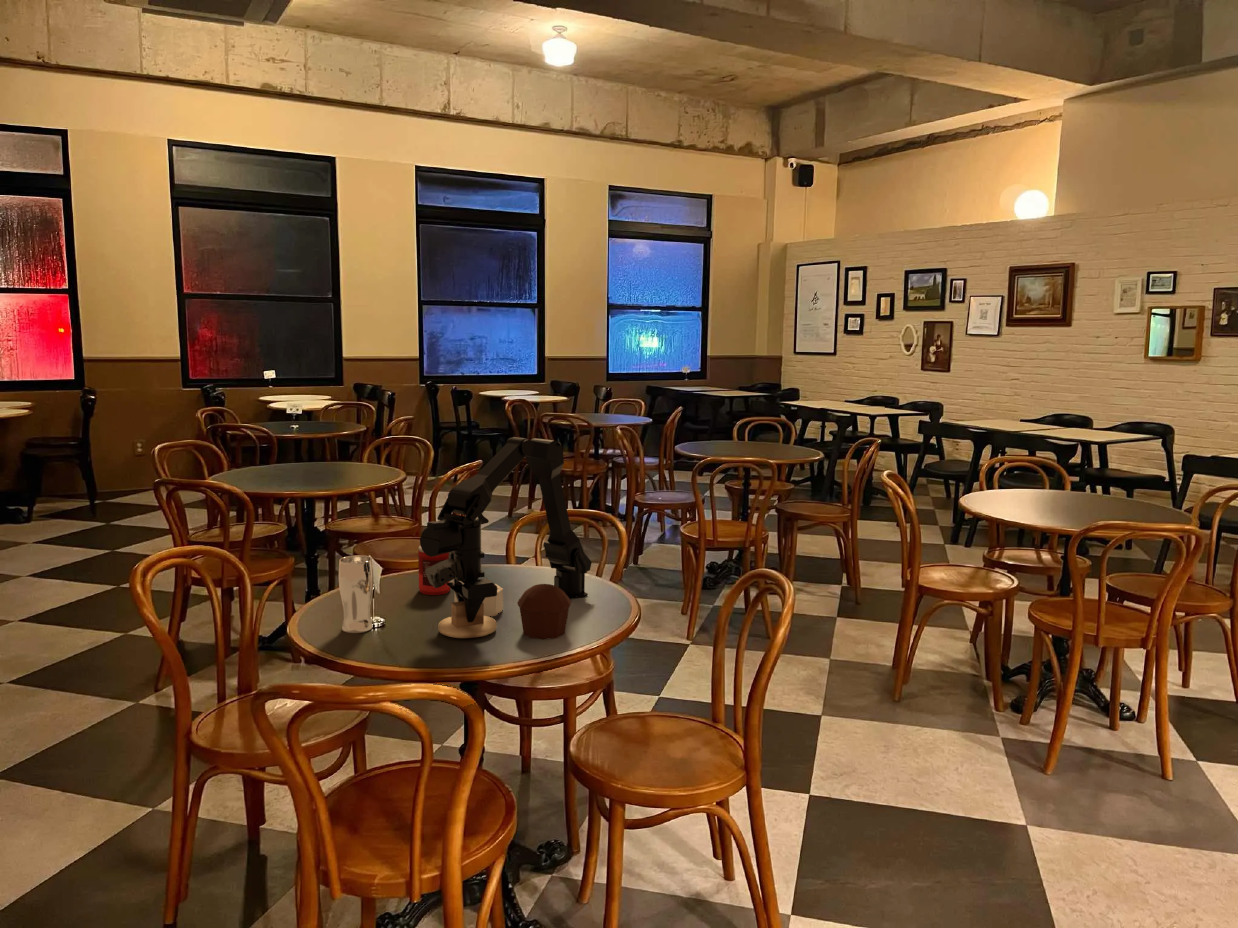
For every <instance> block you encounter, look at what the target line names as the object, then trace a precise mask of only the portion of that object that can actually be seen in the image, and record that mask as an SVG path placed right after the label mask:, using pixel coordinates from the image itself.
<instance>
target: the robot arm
mask: <svg viewBox="0 0 1238 928" xmlns="http://www.w3.org/2000/svg"><path fill="white" fill-rule="evenodd" d="M524 458H525V460H526V462H527V465H528V467H529V470H531V472H532V473H533V474H534V475H535V477H536V478H537V480H538V483H539V488H540V491H541V496H542V501H543V505H544V506H543V507H544V511H545V515H546V520H547V524H548V528H549V534H548V535H549V536H548V537H547V540H546V541H545V542H543V548H544V550H545V551H544V552H545V556H544V557H545V558H547V559H548V560H547V561H549V562H548V563H549V564H550V565H549V566H550V569H555V575H554V577H553V579H554V580H553V585H554V586H557V587H558V588H560V589H561V590H562V591H564V592H565V593H566V595H567V596H568V597H569V599H574V598H575V599H576V598H581V597H588V595H589V593H588V592H586V591H585V587H586V586H585V585H586V584H585V583H586V580H585V577H586V574H587V573H588V572H589V571H591V567H592V561H591V559H590V558H589V557H588V555H587V554H586V553H585V551H584V548H583V545H582V542H581V539H580V537H579V536H578V535H577V534H576V533H575V531H573V529H572V527H571V523H570V518H569V514H568V509H567V503H566V499H565V493H564V490H563V485H562V479H561V472H562V469H563V466H564V464H565V459H564V458H565V457H564V447H563V445H562V444H561V442H559V441H557V440H554V439H553V440H551V439H543V438H531V439H528V438H524V437H516V436H513V437H509V438H508V439H507V440H506V441H505V444H504V445H503V447H502V448H501V449H500V450H499V451H498V452H497V453H496V454H495V455H494V456H493V457H492V458H491V459H489V461H488V462H487V463H486V464H485V465H484V466H483V467H482V468H481V469H480V470H479V471H478V472H477V473H476V474H475V475H474V476H472V477H469V478H466V479H464V480H462V481H460V482H459V483H458V484H455V486H453V487H452V488H451V489H450V491H448V494H447V498H446V500H445V502H444V504H443V505H442V508H441V510H440V512H439V514H438V515H437V518H436V519H437V520H435V521H433V520H432V521H429V522H427V523H426V528H424V530H423V531H422V533H421V534H420V535H421V536H420V537H419V543H420V545H421V548H422V550H423V552H424V553H425V554H426V555H428V556H430V557H433V556H437V555H441V554H445V553H449V552H450V553H449V559H447V560H444V561H441V562H439V563H437V564H435V565H433V566H431V567H429V568H427V569H426V570H425V572H426V575H427V577H428V580H429V582H430V584H431V585H433V586H434V588H439V587H441V586H443V584H445V583H446V584H447V585H448V586H449V587H450V588H451V589H450V590H452V591H454V592H455V594H456V597H457V600H458V602H461V601H464V602H465V609H466V615H467V621H468V622H473V621H474V619H475V617H476V615H477V613H478V610H479V608H480V606H481V604H482V603H483V601H484V599H485V598H487V597H494V596H497V586H496V585H495V584H496V583H494V582H493V581H491V580H490V579H488V578H485V571H483V570H482V559H485V552H483V551H482V525H485V524H488V523H489V519H488V518H487V517H486V516H484V514H483V513H484V512H485V511H486V509H487V508H488V506H489V504H490V503H491V502H492V497H493V492H494V491H495V489H496V488H497V487H498V486H499V485H500V484H501V483H502V482H503V481H504V480H506V478H507V477H508V476H509V475H510V474H511V472H512V471H513V470H514V469H516V467H518V465H519V464H520V463H521V462H522V461H523V460H524ZM463 515H464V516H463ZM420 545H419V546H420ZM479 578H480V579H479ZM449 581H450V583H447V582H449Z"/></svg>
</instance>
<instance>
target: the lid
mask: <svg viewBox="0 0 1238 928" xmlns="http://www.w3.org/2000/svg"><path fill="white" fill-rule="evenodd" d="M450 607H451V609H450V611H451V616H448V617H445V618H443V619H442V620H440V622H439V623H438V632H439V633H440V634H441V635H443V636H445V637H446V636H447V637H450V638H456V639H472V638H479V637H485V636H488V635H489V634H490V635H491V634H492V633H494V632H495V631H496V630H497V625H498V624H497V620H495V619H494V617H492V616H491V617H488V616H484V603H482V604H481V606H480V608H479V610H478V613H477V615H476V617H475V619H474V621H473V622H468V621H467V615H466V609H465V602H464V601H461V602H455V601H454V602H451V606H450Z"/></svg>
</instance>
